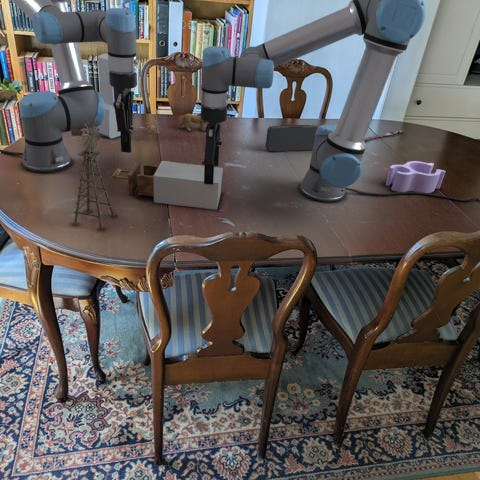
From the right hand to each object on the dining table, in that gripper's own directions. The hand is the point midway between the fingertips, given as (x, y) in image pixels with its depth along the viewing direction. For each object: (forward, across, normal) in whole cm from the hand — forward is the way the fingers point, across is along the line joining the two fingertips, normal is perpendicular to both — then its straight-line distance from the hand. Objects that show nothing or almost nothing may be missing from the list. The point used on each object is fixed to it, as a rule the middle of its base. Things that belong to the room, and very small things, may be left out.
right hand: (211, 174), depth 144 cm
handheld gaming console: (+10, +51, -27) cm, 59 cm away
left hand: (-5, 0, +26) cm, 27 cm away
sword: (+11, +79, -70) cm, 106 cm away
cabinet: (+9, 0, +7) cm, 11 cm away
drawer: (+8, 0, +18) cm, 20 cm away
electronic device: (+8, +47, +45) cm, 66 cm away
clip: (+11, +29, -71) cm, 77 cm away
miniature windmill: (+8, -20, +31) cm, 37 cm away
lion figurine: (+9, +62, +14) cm, 65 cm away
